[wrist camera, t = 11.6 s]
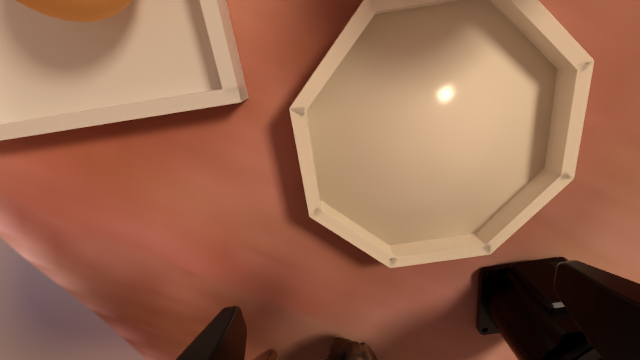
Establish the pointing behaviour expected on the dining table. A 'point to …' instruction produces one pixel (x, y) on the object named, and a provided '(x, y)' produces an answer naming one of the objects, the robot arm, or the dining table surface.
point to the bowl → (440, 125)
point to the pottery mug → (345, 351)
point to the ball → (77, 8)
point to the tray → (115, 65)
